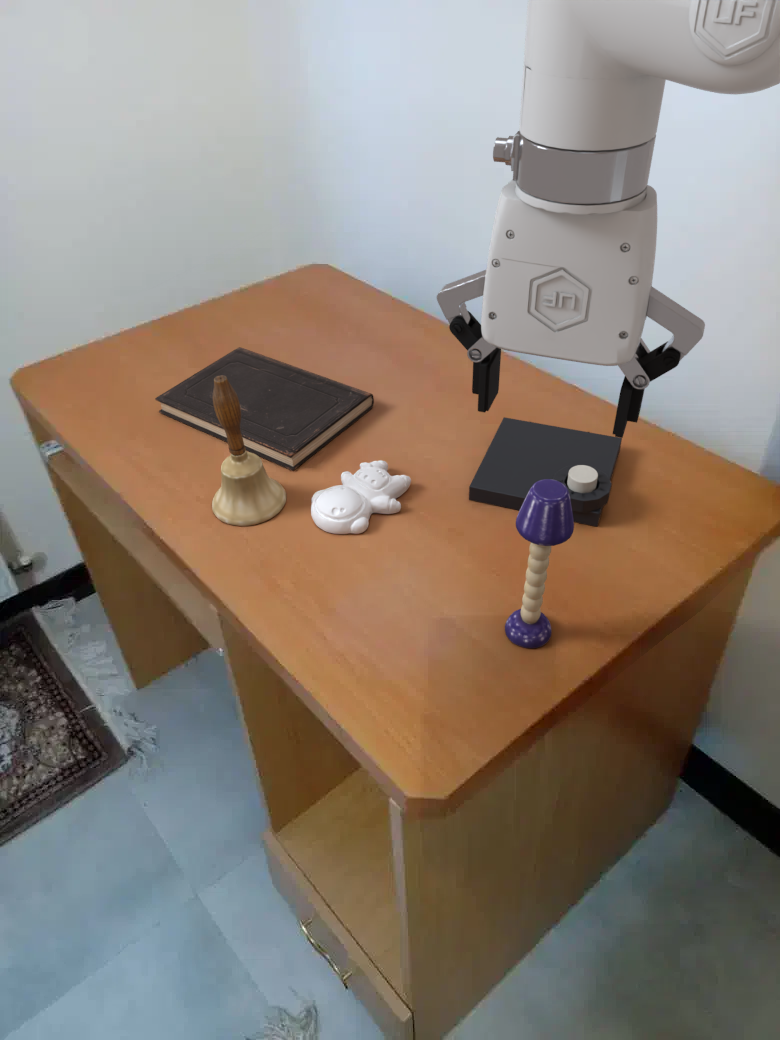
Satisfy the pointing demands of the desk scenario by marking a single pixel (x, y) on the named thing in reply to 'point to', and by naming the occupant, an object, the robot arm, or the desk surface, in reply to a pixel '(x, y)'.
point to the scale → (544, 465)
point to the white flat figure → (358, 498)
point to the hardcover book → (270, 406)
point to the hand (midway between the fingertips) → (552, 414)
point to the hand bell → (241, 469)
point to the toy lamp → (539, 557)
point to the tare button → (582, 479)
